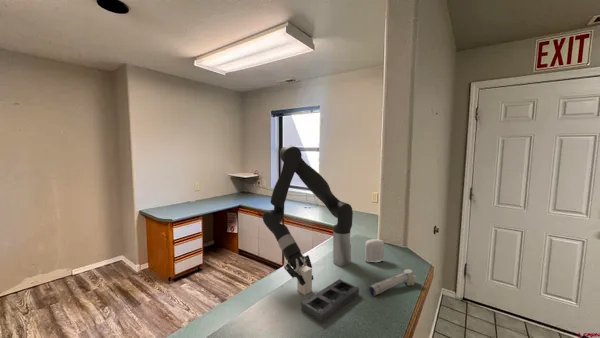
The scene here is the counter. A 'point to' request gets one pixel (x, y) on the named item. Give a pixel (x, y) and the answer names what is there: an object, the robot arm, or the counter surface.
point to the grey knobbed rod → (393, 282)
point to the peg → (307, 277)
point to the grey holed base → (327, 304)
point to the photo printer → (374, 250)
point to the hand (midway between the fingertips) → (307, 282)
